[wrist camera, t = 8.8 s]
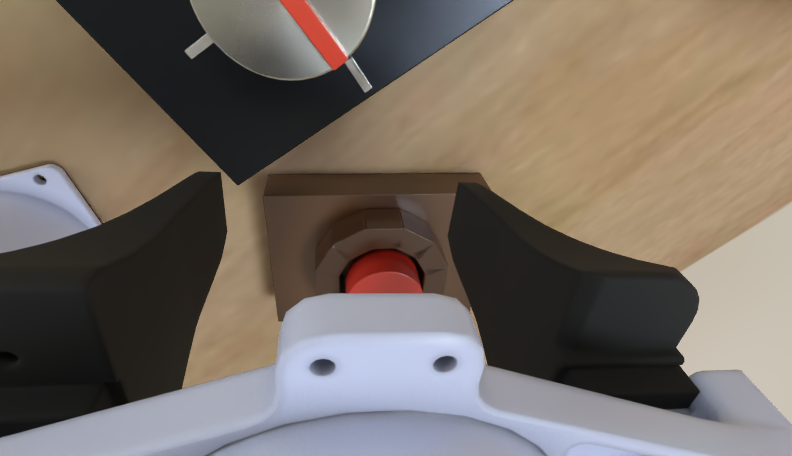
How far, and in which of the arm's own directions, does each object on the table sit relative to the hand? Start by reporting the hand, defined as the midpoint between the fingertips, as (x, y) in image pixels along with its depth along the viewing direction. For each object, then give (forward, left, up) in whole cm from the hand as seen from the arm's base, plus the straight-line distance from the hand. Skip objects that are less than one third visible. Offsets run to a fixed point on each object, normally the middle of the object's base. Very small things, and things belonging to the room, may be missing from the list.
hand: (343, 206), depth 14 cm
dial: (0, +6, -6) cm, 8 cm away
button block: (0, -7, -9) cm, 12 cm away
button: (0, -8, -5) cm, 9 cm away
